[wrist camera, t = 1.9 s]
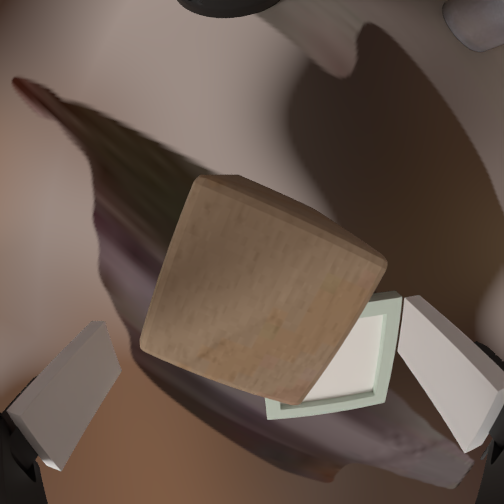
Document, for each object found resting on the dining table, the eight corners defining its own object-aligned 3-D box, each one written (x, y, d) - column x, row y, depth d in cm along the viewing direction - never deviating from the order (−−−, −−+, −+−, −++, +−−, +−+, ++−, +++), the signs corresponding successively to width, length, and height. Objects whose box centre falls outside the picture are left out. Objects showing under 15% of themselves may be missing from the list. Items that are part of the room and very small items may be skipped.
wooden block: (316, 210, 32) (394, 262, 13) (279, 287, 35) (299, 410, 15) (234, 173, 31) (196, 170, 12) (200, 253, 34) (134, 351, 14)
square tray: (256, 306, 35) (256, 314, 33) (395, 290, 34) (402, 297, 32) (267, 409, 40) (267, 419, 38) (380, 393, 39) (384, 402, 37)
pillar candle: (447, -8, 22) (496, -45, 8) (491, 31, 23) (545, 7, 9) (436, 22, 24) (494, -18, 10) (483, 65, 25) (548, 44, 11)
